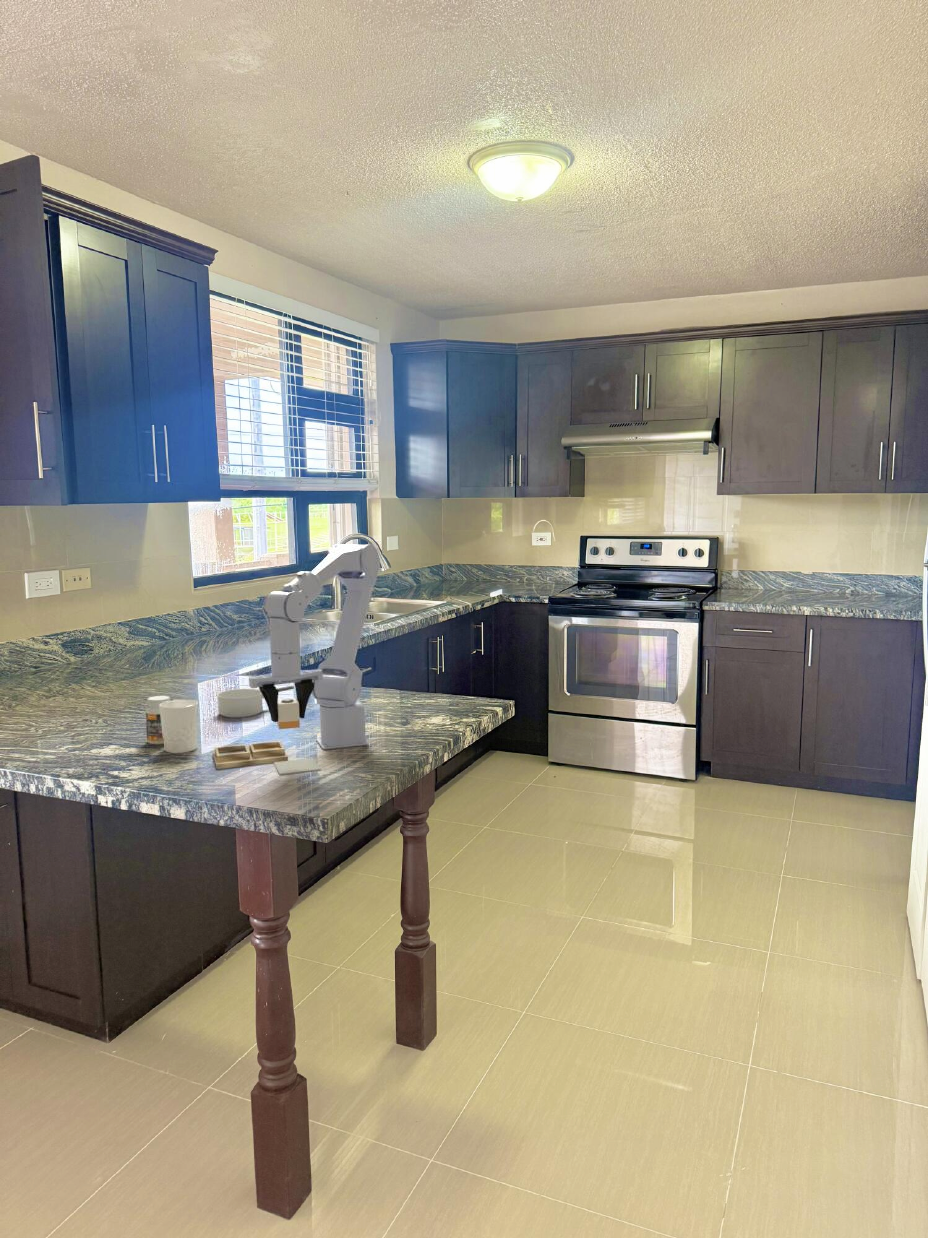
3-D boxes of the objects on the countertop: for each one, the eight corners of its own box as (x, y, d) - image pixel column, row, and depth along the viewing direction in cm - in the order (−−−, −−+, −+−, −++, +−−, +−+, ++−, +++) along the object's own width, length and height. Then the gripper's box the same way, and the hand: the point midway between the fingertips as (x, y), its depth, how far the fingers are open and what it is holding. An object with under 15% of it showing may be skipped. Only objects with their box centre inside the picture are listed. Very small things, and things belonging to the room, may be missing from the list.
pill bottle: (146, 746, 184) (143, 701, 182) (148, 739, 189) (145, 696, 188) (173, 743, 185) (171, 699, 184) (174, 737, 191) (172, 694, 189)
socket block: (280, 748, 181) (280, 738, 180) (288, 761, 171) (287, 750, 171) (212, 755, 176) (212, 745, 175) (216, 769, 166) (216, 758, 166)
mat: (313, 759, 172) (313, 758, 172) (321, 771, 165) (321, 769, 165) (273, 764, 169) (273, 762, 169) (279, 775, 162) (279, 773, 162)
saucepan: (303, 711, 215) (302, 689, 214) (226, 723, 204) (225, 700, 203) (284, 703, 224) (283, 682, 224) (210, 714, 213) (209, 692, 212)
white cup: (204, 743, 185) (202, 699, 184) (194, 754, 177) (192, 707, 176) (168, 744, 185) (166, 699, 184) (156, 754, 177) (154, 708, 176)
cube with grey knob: (297, 722, 170) (296, 697, 170) (299, 727, 166) (298, 701, 166) (277, 724, 169) (276, 699, 168) (279, 729, 165) (278, 703, 165)
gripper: (312, 645, 173) (314, 710, 175) (243, 652, 166) (246, 720, 167) (325, 650, 167) (327, 717, 169) (254, 657, 160) (257, 727, 161)
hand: (288, 719), depth 168 cm, fingers closed on cube with grey knob, 5 cm apart
